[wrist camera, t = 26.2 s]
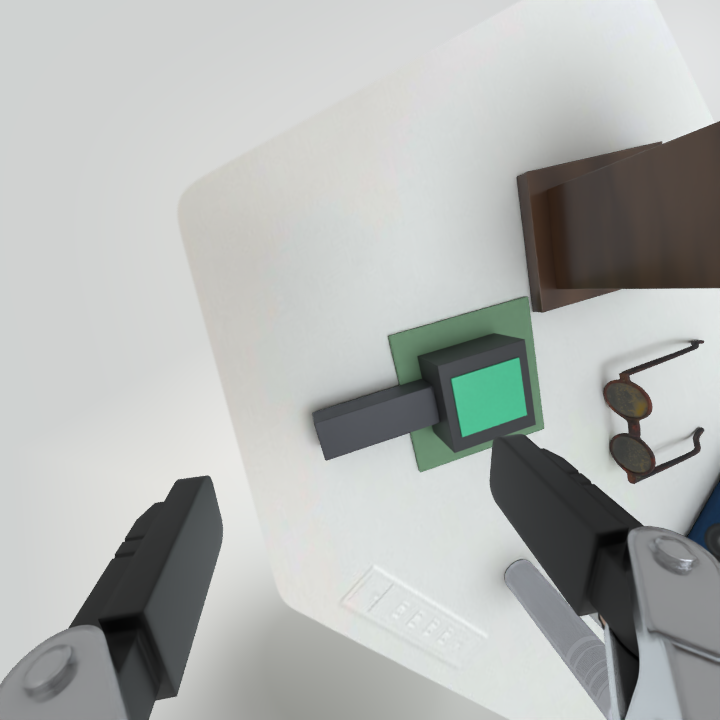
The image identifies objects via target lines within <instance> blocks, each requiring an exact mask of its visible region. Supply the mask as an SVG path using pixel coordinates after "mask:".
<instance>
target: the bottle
mask: <svg viewBox="0 0 720 720" xmlns="http://www.w3.org/2000/svg"><path fill="white" fill-rule="evenodd" d="M505 582H506V584H507V586H508V587H509V588H510V590H511V591H512V593H513V594H514V595H515V597H516V598H517V599H518V601H519V602H520V603H521V605H522V606H523V607H524V609H525V610H526V611H527V613H528V614H529V615H530V617H531V618H532V619H533V621H534V622H535V623H536V625H537V626H538V627H539V629H540V630H541V631H542V633H543V634H544V636H545V637H546V638H547V640H548V641H549V642H550V644H551V645H552V646H553V648H554V649H555V650H556V652H557V653H558V654H559V656H560V657H561V658H562V660H563V661H564V662H565V664H566V665H567V666H568V668H569V669H570V670H571V672H572V673H573V674H574V676H575V677H576V679H577V680H578V681H579V683H580V684H581V685H582V687H583V688H584V689H585V691H586V692H587V693H588V695H589V696H590V697H591V699H592V700H593V701H594V703H595V704H596V705H597V707H598V708H599V709H600V711H601V712H602V713H603V715H604V716H605V717H606V719H607V720H613V719H612V709H611V699H610V689H609V679H608V669H607V659H606V649H605V645H604V644H603V642H602V641H601V640H600V639H599V638H598V637H597V636H596V635H595V633H594V632H593V631H592V630H591V629H590V628H589V627H588V626H587V625H586V623H585V622H584V621H583V620H582V619H581V618H580V617H579V616H577V614H576V613H575V612H574V610H573V609H572V608H571V607H570V606H569V604H568V603H567V602H566V601H565V600H564V599H563V598H562V597H561V595H560V594H559V593H558V592H557V591H556V590H555V589H554V588H553V587H552V585H551V584H550V583H549V582H548V581H547V580H546V579H545V578H544V576H543V575H542V574H541V573H540V572H539V571H538V570H537V569H536V568H535V566H534V565H533V564H532V563H531V562H529V561H527V560H519V561H517V562H515V563H513V564H512V565H511V566H510V567H509V568H508V570H507V571H506V574H505Z"/></svg>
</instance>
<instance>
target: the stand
mask: <svg viewBox="0 0 720 720" xmlns="http://www.w3.org/2000/svg"><path fill="white" fill-rule="evenodd" d="M517 182H518V190H519V198H520V207H521V215H522V223H523V232H524V240H525V248H526V257H527V265H528V273H529V282H530V290H531V298H532V307H533V312H546V311H549V310H553V309H556V308H559V307H563V306H566V305H570V304H573V303H576V302H580V301H583V300H586V299H590V298H593V297H597V296H600V295H603V294H607V293H610V292H613V291H617V290H620V289H671V288H720V121H719V122H717V123H714V124H712V125H709V126H707V127H704V128H702V129H699V130H697V131H694V132H691V133H689V134H686V135H684V136H681V137H679V138H676V139H674V140H671V141H669V142H666V143H664V144H662V141H661V142H656V143H652V144H648V145H643V146H639V147H634V148H630V149H626V150H621V151H617V152H612V153H608V154H604V155H599V156H595V157H590V158H586V159H581V160H577V161H573V162H568V163H564V164H559V165H555V166H551V167H546V168H542V169H537V170H533V171H528V172H526V173H524V174H522V175H520V176H518V177H517Z"/></svg>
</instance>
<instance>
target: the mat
mask: <svg viewBox="0 0 720 720" xmlns="http://www.w3.org/2000/svg"><path fill="white" fill-rule="evenodd" d="M493 333H496V334H501V335H506V336H511V337H516V338H521V339H525V343H526V351H527V359H528V367H529V374H530V382H531V390H532V398H533V405H534V413H535V421H536V425H534V426H531V427H528V428H525V429H522V430H519V431H517V432H514V433H511V434H508V435H514V434H524V435H528V434H531V433H533V432H536V431H539V430H542V429H544V423H543V415H542V406H541V398H540V390H539V382H538V374H537V366H536V357H535V349H534V341H533V333H532V325H531V316H530V308H529V300H528V297H522V298H519V299H515V300H512V301H508V302H505V303H501V304H498V305H494V306H491V307H488V308H484V309H481V310H477V311H474V312H470V313H467V314H463V315H460V316H456V317H453V318H449V319H446V320H442V321H439V322H435V323H432V324H428V325H425V326H421V327H418V328H414V329H411V330H407V331H404V332H400V333H397V334H393V335H390V336H388V337H389V342H390V346H391V350H392V355H393V359H394V364H395V368H396V372H397V377H398V381H399V385H403V384H406V383H409V382H412V381H416V380H419V379H422V376H421V371H420V366H419V362H418V357H417V356H419V355H423V354H426V353H429V352H433V351H436V350H439V349H443V348H446V347H449V346H453V345H456V344H459V343H463V342H466V341H469V340H473V339H476V338H479V337H483V336H486V335H489V334H493ZM410 433H411V438H412V442H413V446H414V451H415V455H416V459H417V464H418V468H419V471H420V472H423V471H426V470H429V469H432V468H434V467H437V466H440V465H443V464H446V463H449V462H451V461H454V460H457V459H460V458H463V457H465V456H468V455H471V454H474V453H477V452H480V451H482V450H485V449H488V448H491V447H492V444H493V440H491V441H488V442H485V443H482V444H480V445H477V446H474V447H471V448H468V449H465V450H462V451H460V452H457V453H454V452H453V451H452V450H451V449H450V448H449V447H448V446H447V445H446V444H445V443H444V442H443V441H442V440H441V439H440V438H439V437H438V436H437V435H435V434H434V432H433V428H432V425H431V426H428V427H425V428H422V429H419V430H416V431H413V432H410ZM505 436H507V435H505Z"/></svg>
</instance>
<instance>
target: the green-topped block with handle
mask: <svg viewBox="0 0 720 720" xmlns="http://www.w3.org/2000/svg"><path fill="white" fill-rule="evenodd" d="M417 357H418V362H419V366H420V371H421V376H422V379H419V380H416V381H412V382H409V383H406V384H403V385H400V386H396V387H393V388H390V389H387V390H384V391H380V392H377V393H374V394H371V395H368V396H364V397H361V398H358V399H355V400H351V401H348V402H345V403H342V404H339V405H335V406H332V407H329V408H326V409H323V410H319V411H316V412H313V413H312V415H313V420H314V425H315V428H316V431H317V435H318V438H319V441H320V444H321V448H322V451H323V454H324V457H325V460H326V461H327V460H330V459H333V458H336V457H339V456H342V455H345V454H348V453H351V452H353V451H356V450H359V449H362V448H365V447H368V446H371V445H374V444H377V443H380V442H383V441H386V440H389V439H392V438H395V437H398V436H401V435H404V434H407V433H410V432H413V431H416V430H419V429H422V428H425V427H428V426H431V425H432V428H433V432H434V434H435V435H437V436H438V437H439V438H440V439H441V440H442V441H443V442H444V443H445V444H446V445H447V446H448V447H449V448H450V449H451V450H452V451H453V452H454V453H457V452H460V451H462V450H465V449H468V448H471V447H474V446H477V445H480V444H482V443H485V442H488V441H491V440H494V438H495V437H500V436H505V435H508V434H511V433H514V432H517V431H519V430H522V429H525V428H528V427H531V426H534V425H536V421H535V413H534V405H533V398H532V390H531V382H530V374H529V367H528V359H527V351H526V343H525V339H521V338H516V337H511V336H506V335H501V334H496V333H493V334H489V335H486V336H483V337H479V338H476V339H473V340H469V341H466V342H463V343H459V344H456V345H453V346H449V347H446V348H443V349H439V350H436V351H433V352H429V353H426V354H423V355H419V356H417Z"/></svg>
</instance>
